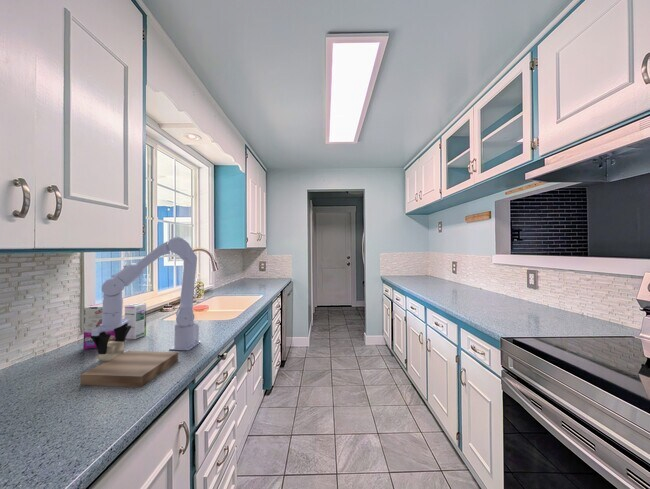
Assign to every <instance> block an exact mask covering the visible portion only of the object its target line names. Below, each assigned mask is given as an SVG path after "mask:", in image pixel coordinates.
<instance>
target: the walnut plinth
mask: <svg viewBox="0 0 650 489" xmlns="http://www.w3.org/2000/svg"><path fill="white" fill-rule="evenodd" d="M178 361H179V352H178V351H177V352H176V351H151V350H150V351H148V350H147V351H145V350H144V351H143V350H142V351H141V350H127V351H124V353H123V354H121V355H119V356H117V357H115V358H113V359H111V360H109V361H106V362H103V363H100V364H99V365H97V366H95V367H93V368H91V369H89V370H87V371H85V372H83V373H81V374H80V386H102V387H106V386H107V387H129V388H130V387H132V388H133V387H134V388H141V387H143V386H145V385H146V384H148V383H149V382H150V381H152V380H153V379H155V378H156V377H157V376H159V375H160V374H161V373H163V372H164V371H166V370H167V369H168V368H170V367H171V366H172V365H174V364H175V363H177V362H178Z"/></svg>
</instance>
